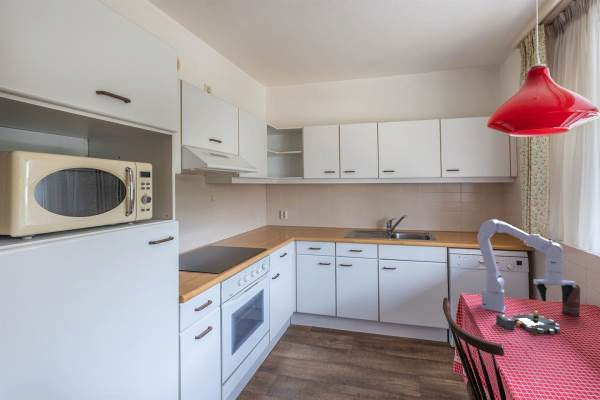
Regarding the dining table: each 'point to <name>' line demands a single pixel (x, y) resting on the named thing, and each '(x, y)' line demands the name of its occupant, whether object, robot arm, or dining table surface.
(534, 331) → the brown rectangular block
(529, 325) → the sprocket
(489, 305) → the robot arm
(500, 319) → the gray speaker cabinet
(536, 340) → the dining table surface
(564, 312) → the can
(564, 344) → the dining table surface
